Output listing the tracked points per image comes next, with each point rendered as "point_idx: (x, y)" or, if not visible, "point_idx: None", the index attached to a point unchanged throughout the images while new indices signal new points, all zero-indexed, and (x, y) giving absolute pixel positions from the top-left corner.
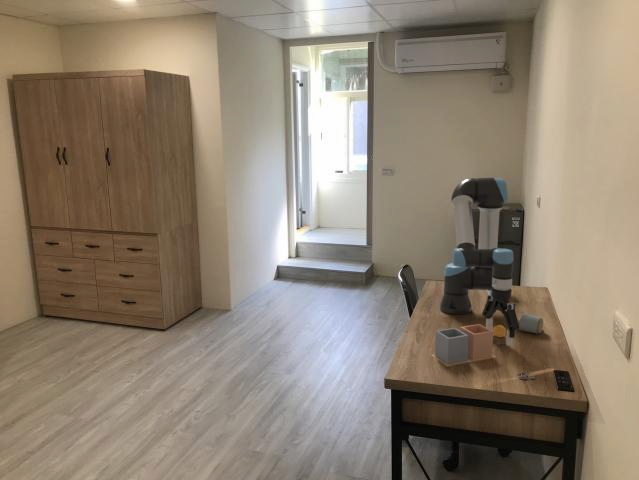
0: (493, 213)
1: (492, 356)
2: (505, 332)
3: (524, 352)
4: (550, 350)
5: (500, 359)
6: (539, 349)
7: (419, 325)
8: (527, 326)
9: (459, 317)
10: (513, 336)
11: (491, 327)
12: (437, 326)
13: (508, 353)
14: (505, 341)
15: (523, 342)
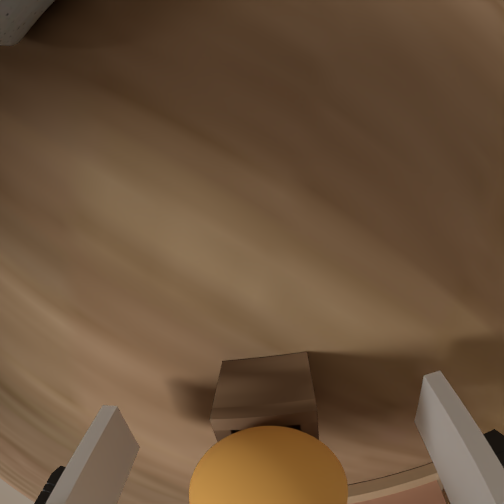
0: None
1: (438, 478)
2: (339, 470)
3: (476, 266)
4: (483, 34)
5: None
6: (462, 95)
7: (21, 487)
8: None
9: None
10: (500, 446)
11: (97, 456)
12: (10, 460)
13: None
14: (311, 379)
15: (274, 123)
